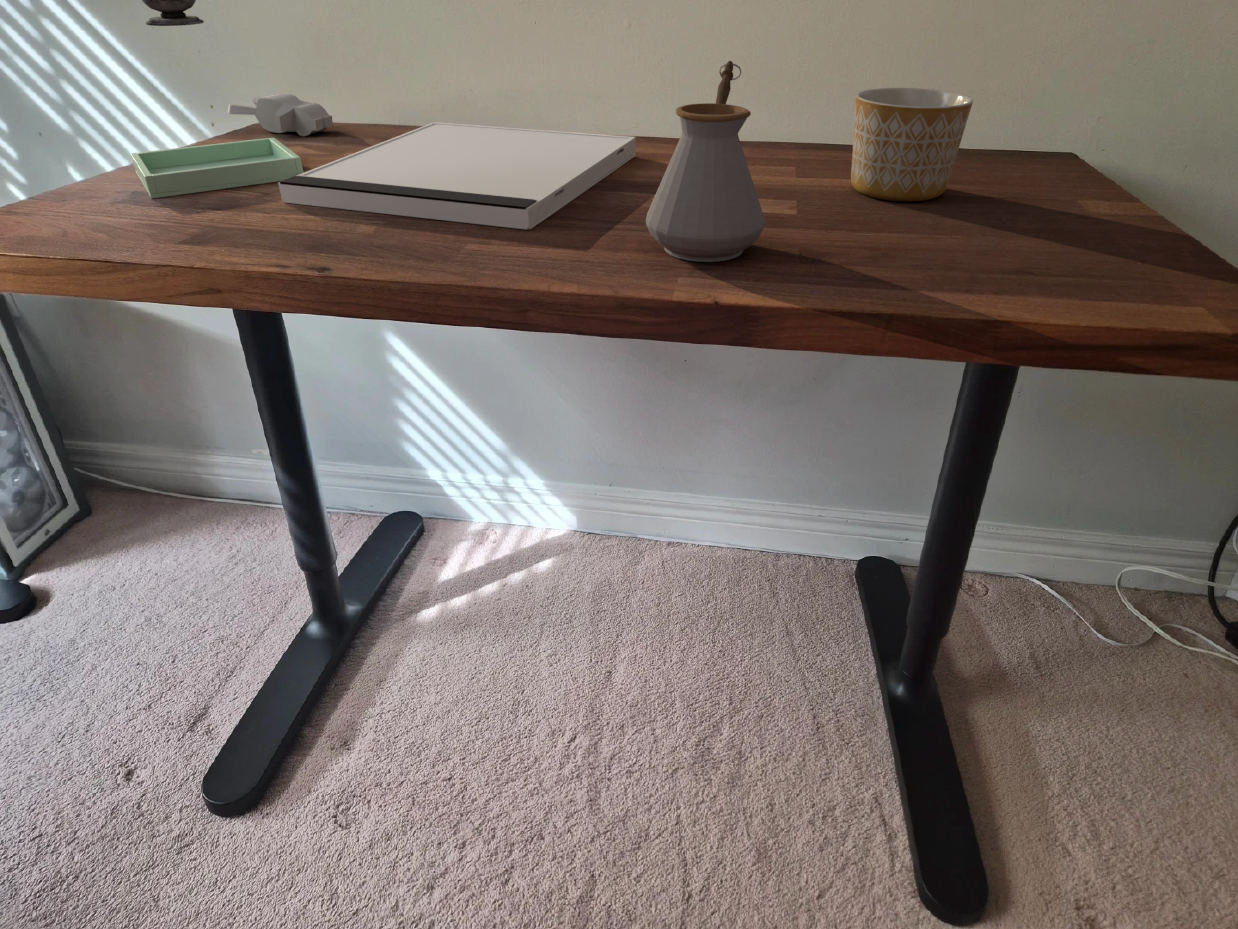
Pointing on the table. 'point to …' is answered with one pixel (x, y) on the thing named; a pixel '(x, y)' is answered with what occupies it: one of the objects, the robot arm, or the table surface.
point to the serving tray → (215, 166)
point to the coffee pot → (707, 185)
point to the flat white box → (465, 174)
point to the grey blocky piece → (286, 114)
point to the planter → (906, 142)
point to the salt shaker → (172, 13)
